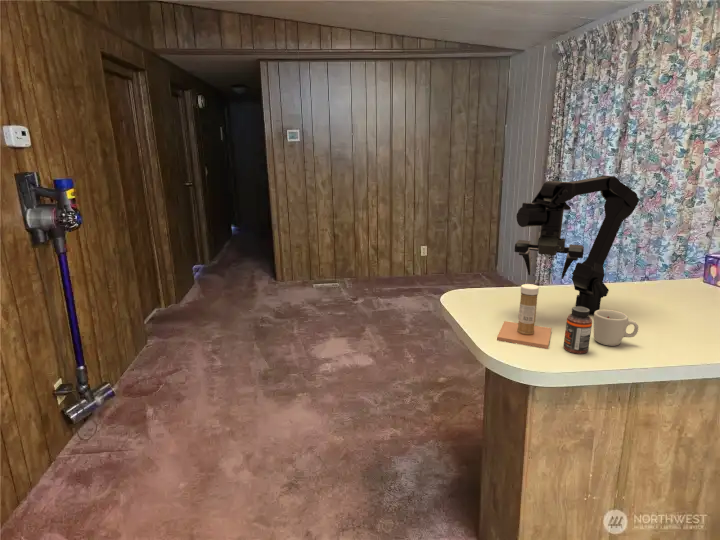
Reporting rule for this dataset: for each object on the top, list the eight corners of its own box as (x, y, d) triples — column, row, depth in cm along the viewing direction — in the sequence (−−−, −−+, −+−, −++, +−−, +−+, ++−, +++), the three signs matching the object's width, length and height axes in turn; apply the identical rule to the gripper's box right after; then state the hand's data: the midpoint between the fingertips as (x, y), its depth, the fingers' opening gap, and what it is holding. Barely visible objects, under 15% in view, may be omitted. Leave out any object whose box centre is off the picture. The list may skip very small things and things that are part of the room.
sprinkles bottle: (535, 331, 133) (540, 285, 129) (532, 336, 129) (537, 289, 125) (518, 327, 135) (523, 282, 132) (514, 333, 131) (519, 286, 128)
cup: (632, 340, 130) (636, 312, 128) (638, 351, 122) (643, 322, 120) (588, 334, 133) (592, 307, 131) (592, 345, 126) (596, 317, 124)
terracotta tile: (551, 331, 135) (551, 328, 135) (548, 348, 124) (548, 345, 124) (504, 324, 140) (504, 321, 140) (496, 340, 129) (497, 336, 129)
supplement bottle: (558, 345, 126) (563, 304, 123) (580, 344, 127) (585, 304, 124) (570, 355, 120) (575, 312, 117) (592, 354, 121) (598, 312, 118)
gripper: (514, 227, 135) (509, 279, 139) (586, 232, 128) (579, 288, 132) (519, 221, 145) (514, 270, 149) (586, 226, 137) (579, 278, 141)
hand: (545, 276), depth 142 cm, fingers open, 9 cm apart
